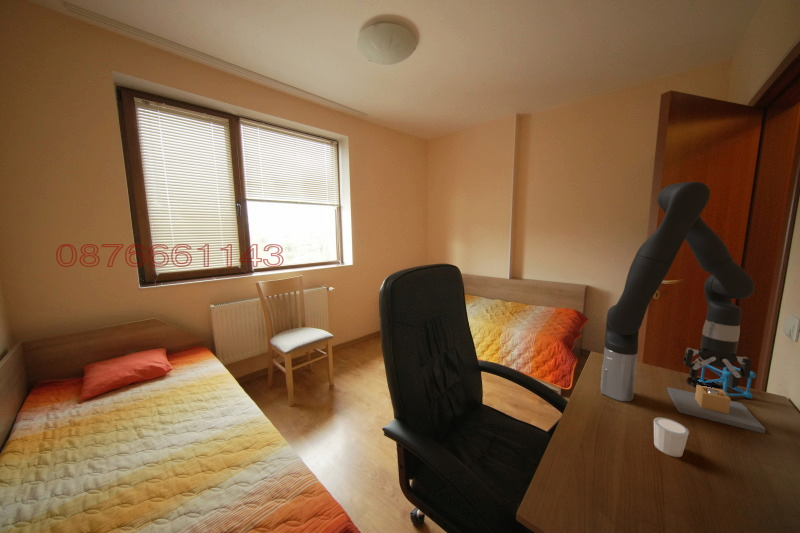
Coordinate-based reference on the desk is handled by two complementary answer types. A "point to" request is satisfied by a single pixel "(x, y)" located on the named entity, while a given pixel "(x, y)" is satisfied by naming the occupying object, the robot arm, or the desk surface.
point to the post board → (736, 415)
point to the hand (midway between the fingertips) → (712, 382)
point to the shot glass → (670, 436)
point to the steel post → (712, 391)
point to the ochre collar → (712, 399)
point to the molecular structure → (725, 380)
